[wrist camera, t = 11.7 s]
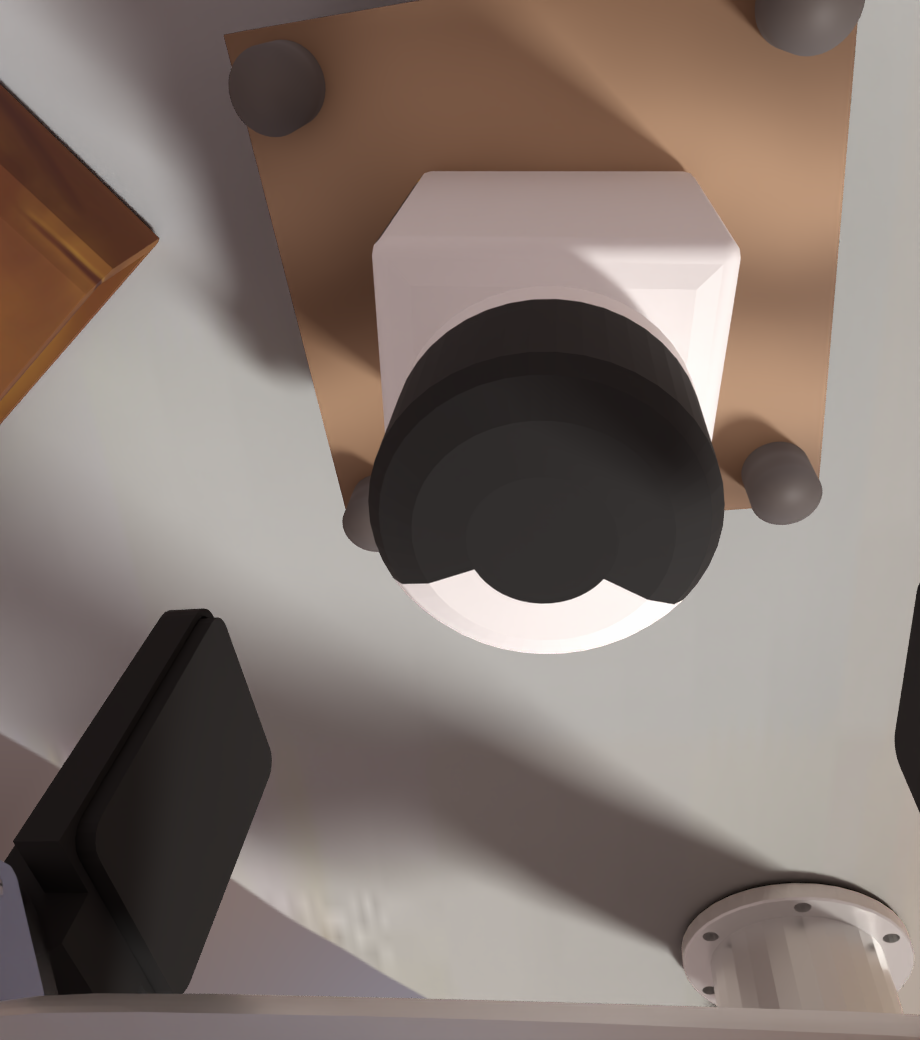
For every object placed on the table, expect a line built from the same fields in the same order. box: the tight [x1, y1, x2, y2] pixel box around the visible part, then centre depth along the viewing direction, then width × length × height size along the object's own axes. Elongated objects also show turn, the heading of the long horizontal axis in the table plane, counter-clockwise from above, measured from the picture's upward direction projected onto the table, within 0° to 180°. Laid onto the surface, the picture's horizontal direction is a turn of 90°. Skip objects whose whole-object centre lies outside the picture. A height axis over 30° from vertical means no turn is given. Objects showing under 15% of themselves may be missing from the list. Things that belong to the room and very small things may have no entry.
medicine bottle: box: [368, 171, 741, 654], centre depth 19 cm, size 7×7×12 cm
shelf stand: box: [224, 0, 865, 552], centre depth 26 cm, size 15×15×8 cm
